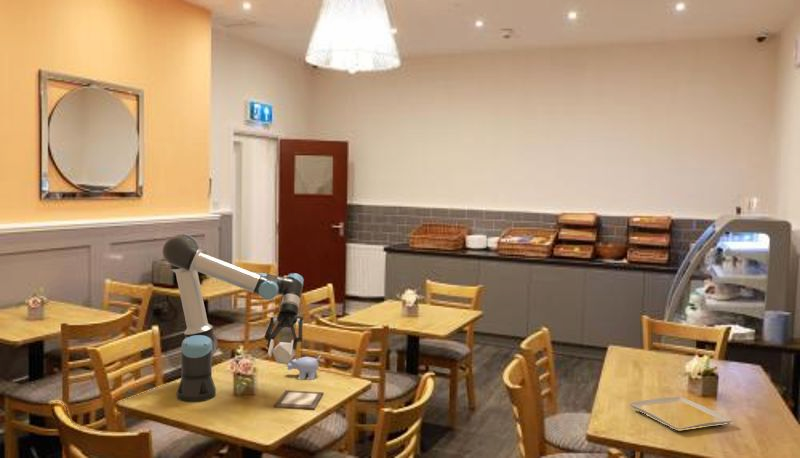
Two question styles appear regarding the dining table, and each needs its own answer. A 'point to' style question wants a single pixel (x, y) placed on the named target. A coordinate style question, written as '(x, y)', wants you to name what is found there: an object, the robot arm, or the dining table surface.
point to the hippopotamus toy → (305, 367)
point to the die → (282, 352)
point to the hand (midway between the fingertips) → (280, 355)
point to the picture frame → (299, 400)
